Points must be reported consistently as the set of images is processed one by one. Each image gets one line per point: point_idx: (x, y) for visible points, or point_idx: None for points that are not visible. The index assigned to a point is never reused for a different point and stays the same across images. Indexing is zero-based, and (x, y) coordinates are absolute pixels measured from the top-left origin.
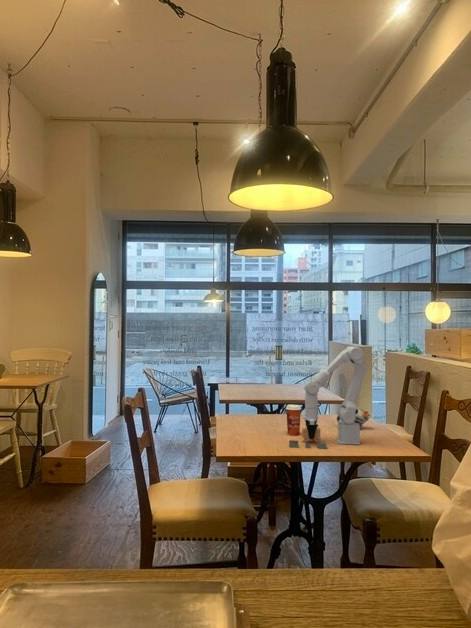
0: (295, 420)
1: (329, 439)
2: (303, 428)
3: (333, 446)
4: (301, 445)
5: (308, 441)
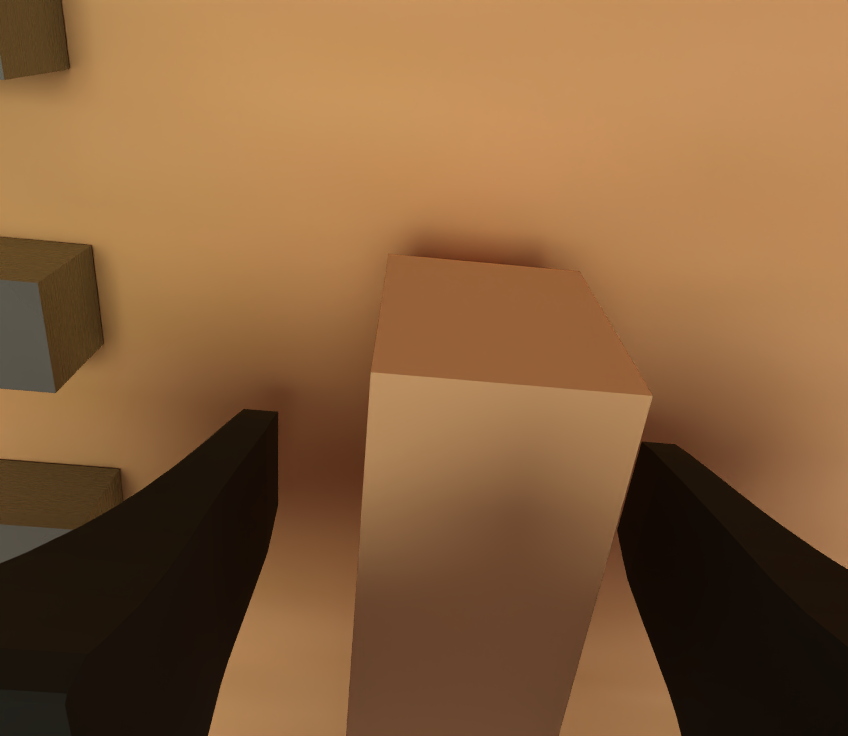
0: None
1: (640, 712)
2: (484, 416)
3: None
4: (83, 155)
5: (14, 360)
